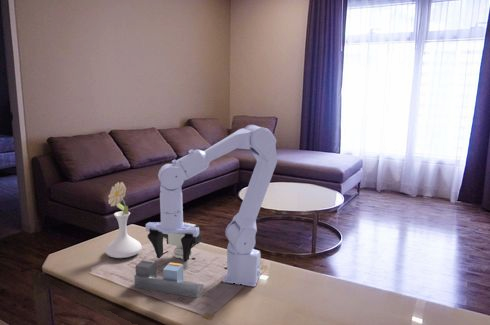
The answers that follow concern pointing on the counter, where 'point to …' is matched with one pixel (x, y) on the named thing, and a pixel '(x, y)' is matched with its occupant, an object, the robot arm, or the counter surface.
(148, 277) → the rail
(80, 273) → the counter surface
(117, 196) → the flower in vase
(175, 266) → the block
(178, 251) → the pneumatic valve
